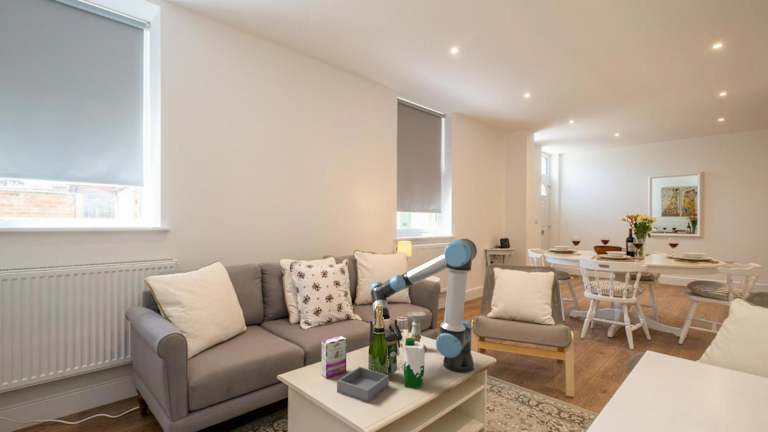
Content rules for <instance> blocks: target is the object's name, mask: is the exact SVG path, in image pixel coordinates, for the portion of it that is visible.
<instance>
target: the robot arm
mask: <svg viewBox="0 0 768 432" xmlns="http://www.w3.org/2000/svg"><path fill="white" fill-rule="evenodd" d="M477 253H478V250H477V246H476V244H475V242H474V241H472V240H471V239H469V238H460V239H454V240H452V241H450V242H449V243H448V244H447V245H446V246H445V248H444V251H443V252H442V253H441V254H439V255H438V256H436V257H434V258H432V259H430V260H428V261H425V262H424V263H421V264H420V265H418V266H415V267H414V268H412V269H410V270H408V271H406V272H404V273H402V274H400V275H399V274H396V275H394V276H392V277H391V278H389V279H388V280H386V281H384V282H381V281H377V282H374V283H372V284H371V285H370V288H369V289H370V296H371V297H370V298H371V302H372V308H373V316H374V321H372V320H370V321H369V324H368V326H369V334H368V335H369V338H368V343H369V344H370V343H371V339H373V336H372V335H374V326H375V324H376V306H377V305H378V304H380V305H382V307H383V317H384V319H389V318H390V319H391V316H390V311H389V310H390V309H389V306H388V305H389V304H388V300H387V299H388V298H390V297H391V296H393V295H395V294H396V293H398V292H401V291H403V290H406V289H409V288H410V287H411V286H414V285H416V284H418V283H420V282H422V281H424V280H426V279H428V278H430V277H432V276H434V275H436V274H439V273H440V272H442V271H444V270H447V271H448V274H447V285H446V293H445V295H446V296H445V307H444V308H445V309H444V315H443V321H442V322H441V323H440V325H439V326H440V327H439V335H438V336H437V338H436V339H435V347H436V350H437V351H438V352H439V353H440V355H442V356H444V357H443V364H442V365H443V367H444V368H445V369H446V370H449V371H451V372H455V373H471V372H472V371H474V369H475V361H474V358H473V355H472V352H471V351H472V330H473V328H472V323H471V321H468V320H464V313H465V312H464V310H465V301H466V293H467V292H466V291H467V280H468V274H469V273H470V272H471V271H472V262H473V261H474V259H476V256H477ZM394 321H395V322H394V323H395V328H394V329H393V327H392V325H391V324H390V326H389V330H390V331H392V332H394V333H396V334H397V338H398V341H397V347H396V352H397V357H399V356H400V354H401V352H400V348H401V342H400V341H402V340H403V338H404V337H403V334H402V332H401V330H400V328H399V325H398V320H397V319H394ZM371 344H372V343H371Z"/></svg>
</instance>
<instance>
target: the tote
mask: <svg viewBox="0 0 768 432" xmlns="http://www.w3.org/2000/svg"><path fill="white" fill-rule="evenodd" d="M374 371H375V370H373V371H372V369H369V368H365V367H361V366H359V367H357V368H355V369H354V370H352V371H350V372H349V373H347V374H345V375H343V376H342V377H340V378H339V379H338V380H336V393H338V394H341V395H344V396H347V397H350V398H353V399H355V400H358V401H361V402H363V403H366V404H368V403H370V402H371V401H372V400H373V399H374V398H376V397H377V396H379V394H381V393H383V391H385V390H387V388H389V385H390V382H389V381H390V376H389V375H390V374H385V373H383V372H380V371H376V372H374Z"/></svg>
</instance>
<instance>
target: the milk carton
mask: <svg viewBox="0 0 768 432" xmlns="http://www.w3.org/2000/svg"><path fill="white" fill-rule="evenodd" d="M424 345H425V342H422V341H420V342H415V341H414V339H413V338H411V337H406V338H405V343H404V351H403V353H404V354H403V381H404V388H412V389H419V390H420V389H422V384H423V380H424V376H425V363H426V362H425V356H426V355H425V352H426V351H424Z"/></svg>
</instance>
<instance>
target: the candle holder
mask: <svg viewBox="0 0 768 432" xmlns="http://www.w3.org/2000/svg"><path fill="white" fill-rule="evenodd" d="M406 315H407V316H408V317H409V318H412V322H411V325H412V328H411V335H410V338H413V339H414V341H415V342H421V339H422V336H421V334H422V331H421V327H420V326H421V325H422V324H421V322H420V320H421V319H423V318H425V317H427V313H425V312H423V311H420V310H419V311H417V310H412V311H408V312H407V314H406ZM427 349H428V348H427V346H426V345H425V344H424V351H425V352H427Z"/></svg>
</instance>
